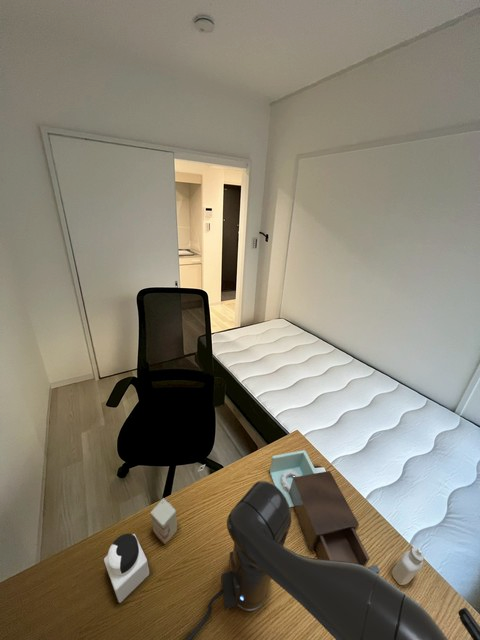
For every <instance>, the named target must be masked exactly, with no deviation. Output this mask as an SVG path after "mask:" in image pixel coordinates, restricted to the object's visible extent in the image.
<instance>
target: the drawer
mask: <svg viewBox="0 0 480 640" xmlns="http://www.w3.org/2000/svg"><path fill="white" fill-rule="evenodd" d="M315 548H316V550H315V551H316V552H317V556H318V559H325V560H335V561H344V562H351V563H356V564H360V565H363V566H365V567H367V568H369V569H371V570H372V571H374V572H375V573H377V574H378V575H380V573H381V570H380V568H379V566H378V565H377V564H374V565H371V566H367V564H368V563H369V562H370V560H371V557H370V556H369V554H368V552H367V550H366V548H365V546H364V544H363V542H362V541H361V539H360V536H359V535H358V533H357V530H356V531H355V529H354V527H353V528H349V529H345V530H341V531H336V532H332V533H328V534H324V535H320V536H318V538H317V541H316V543H315Z"/></svg>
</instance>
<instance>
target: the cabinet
mask: <svg viewBox="0 0 480 640" xmlns="http://www.w3.org/2000/svg"><path fill="white" fill-rule="evenodd" d="M289 494H290V497H291V500H292V503H293V505H294V506H293V509H294V512H295V514H296V517H297V519H298V522H299V524H300V527H301V530H302V533H303V536H304V539H305V542H306V544H307V546H308V549H309V552H311V551H317V550H316V548H315V543H316V541H317V538H318V536H320V535H324V534H328V533H332V532H336V531H341V530H345V529H349V528H353V527H354V529H355V531H356V532H357V530H358V528H359V526H360V523H359V522H358V520H357V518H356V515H355V514H354V512H353V511H352V508H351V507H350V505H349V503H348V502H347V499H346V498H345V496H344V494H343V492H342V491H341V488H340V487H339V485H338V483H337V481H336V479H335V477H334V476H333V474H332V471H330V470H328V471H322V472H317V473H315V474H310V475H304V476H299V477H293V480H292V484H291V488H290V491H289Z"/></svg>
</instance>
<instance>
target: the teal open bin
mask: <svg viewBox="0 0 480 640" xmlns="http://www.w3.org/2000/svg"><path fill="white" fill-rule="evenodd" d="M269 473H270V476H271V478H272V479H271V480H272V481H273V484H274V485H275V486H276V487H277V488H278V489H279V490H280V491H281V492H282V493H283V495H284V496H285V498H286V500H287V502H288V504H289V507H290V508H294V505H293V503H292V500H291V497H290V494H289V491H290V488H291V484H292V480H293V476H295V477H299V476H304V475H310V474H315V473H318V472H317V470H316V468H315V466H314V464H313V462H312V460H311V458H310V457H309V454H308V452H307V451H306V449H303V450H297V451H292V452H286V453H281V454H276V455H275V454H274V455H272V456H271V461H270V466H269Z"/></svg>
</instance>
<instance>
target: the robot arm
mask: <svg viewBox="0 0 480 640" xmlns="http://www.w3.org/2000/svg"><path fill="white" fill-rule="evenodd" d="M291 524H292V511H291V507H289V504H288V502H287V500H286V498H285V496H284V495H283V493H282V492H281V491H280V490H279V489H278V488H277V487H276V486H275V485H274V483H272V482H269V481H266V480H258V481H256V482H255V483H254V484H253V485H252V486H251V487H250V488H249V490H247V492H246V493H245V494H244V495H243V496H242V497H241V499H240V500H239V501H238V502H237V503H236V505H234V507H233V508H232V509H231V510H230V512H229V513H228V516H227V519H226V529H227V532H228V535H229V536H230V538H231V540H232V541H233V548H232V551H230V552H229V557H228V565H227V566H228V567H227V571H225V572H222V573H221V576H220V577H221V578H220V579H221V589H220V590H219V591H218V592H217V593H216V594H214V595H213V597H212V598H211V599H210V600H209V602H208V606H207V608H208V609H207V611H206V613H205V615H204V616H203V618H202V620H201V621H200V622H199V624H197V626H196V627H195V628H194V630H192V632H191V633H190V634H189V635H188V636H186V638H185V639H184V640H193V639H194V637H195V636H197V634H198V633H199V632H200V630H201V629H202V628H203V627H204V625H205V624H206V622H207V621H208V618H209V617H210V615H211V613H212V608H213V607H212V606H213V605H214V603H215V602H216V601H217V600H218V599H219V598H220V597H221V596H222V599H223V608H224V610H228V609H232V608H235V607H236V606H237V607H238V608H239V609H240V610H242V611H243V612H249V613H250V612H252V613H253V612H255V611H257V610H259V609H260V608H261V607H262V606H263V605H264V603H265V601H266V599H267V597H268V592H269V587H270V583H271V580H272V581H273V582H275V583H276V584H277V585H278V586H279V587H280V588H282V589H283V590H284V591H285V592H286V593H288V594H289V595H290V596H291V597H292V599H294V600H295V601H296V602H298V603H299V604H300V605H301V606H302V607H303V608H304V609H305V610H306V611H307V613H309V614H310V615H311V616H312V617H313V618H314V619H315V620H316V621H317V622H318V623H319V624H320V625H321V626H322V627H323V628H324V629H325V630H326V631H327V632H328V633H329V634H330V635H331V636H332V637H333V638H334V639H335V640H449V638H447V636H446V634H444V632H443V631H442V629H441V628H440V626H438V625H439V624H437V622H436V621H435V620H434V619H433V618H432V617H431V615H430V614H429V613H428V611H426V609H425V608H424V607H423V606H422V605H420V603H418V602H417V601H416V600H414V599H413V598H412V597H411V596H409V595H408V594H406V593H405V592H404V591H402V590H401V589H399V588H398V587H397V586H395V585H393V584H392V583H391V582H390V581H388V580H386V578H384V577H383V576H381V575H380V574H377V573H375V572H374V571H372V570H371V569H369V568H367V567H368V566H363V565H360V564H356V563H351V562H344V561H335V560H325V559H320V558H314V557H309V556H306V555H302V554H300V553H297V552H294V551H293V550H291V549H289V548H287V546H285V543H286V540H287V537H288V534H289V531H290V528H291V526H292V525H291ZM458 616H459V620H460V622H461V624H462V625H463V627H464V628H465V629H466V631H467V633H468V634H469V636H470V637H471V639H472V640H480V625H479V624H478V621H476V619H475V618H474V616H473V615H472V614H471V612H470V611H469V610H468V608H466V607H463V608H461V609H460V610H458Z"/></svg>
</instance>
